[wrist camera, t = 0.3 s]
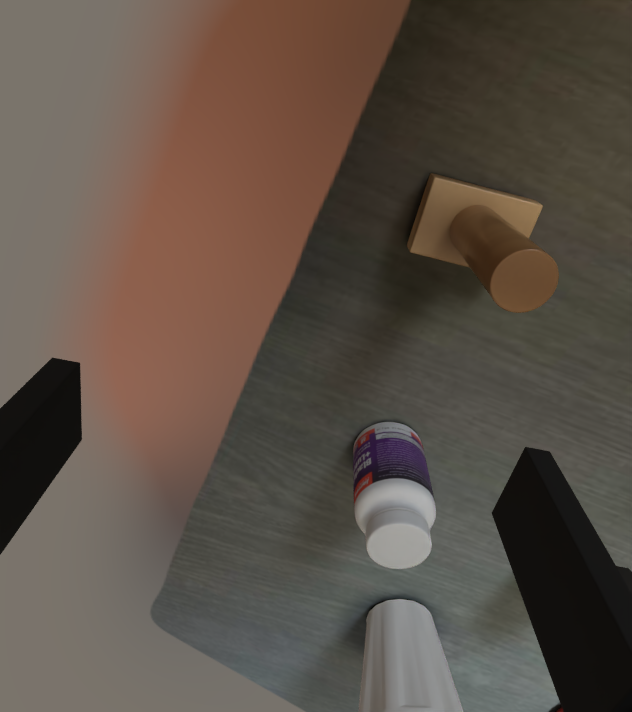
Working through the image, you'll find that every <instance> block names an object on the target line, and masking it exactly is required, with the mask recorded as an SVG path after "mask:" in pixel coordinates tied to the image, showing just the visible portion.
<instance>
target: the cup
mask: <svg viewBox="0 0 632 712" xmlns="http://www.w3.org/2000/svg"><path fill="white" fill-rule="evenodd" d="M366 623H367V626H366V637H365V648H364V658H363V669H362V679H361V690H360V700H359V711H358V712H464V711H463V708H462V705H461V702H460V699H459V696H458V693H457V690H456V687H455V684H454V681H453V678H452V675H451V672H450V669H449V666H448V663H447V660H446V657H445V654H444V651H443V648H442V645H441V642H440V639H439V636H438V633H437V630H436V627H435V624H434V621H433V618H432V615H431V613H430V612H429V611H428V610H427V609H426V607H425V606H423V605H421V604H419V603H417V602H415V601H411V600H405V599H395V600H387V601H385V602H382V603H380V604H377V605H376V606H375V607H374V608H372V609H371V610H370V611H369V613H368V616H367V619H366Z"/></svg>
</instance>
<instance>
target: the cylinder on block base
mask: <svg viewBox="0 0 632 712" xmlns="http://www.w3.org/2000/svg"><path fill="white" fill-rule="evenodd" d="M542 207H543V205H542V204H540V203H538V202H536V201H535V200H532V199H528V198H525V197H521V196H517V195H513V194H509V193H506V192H502V191H498V190H494V189H490V188H487V187H483V186H479V185H475V184H471V183H467V182H464V181H460V180H456V179H452V178H448V177H445V176H441V175H437V174H433V173H431V174H430V175H429V179H428V182H427V185H426V188H425V191H424V194H423V197H422V200H421V203H420V206H419V209H418V212H417V215H416V218H415V221H414V224H413V227H412V230H411V233H410V236H409V240H408V243H407V247H408V249H409V251H410V253H414V254H418V255H422V256H426V257H430V258H434V259H438V260H442V261H446V262H450V263H454V264H458V265H462V266H466V267H470V268H471V269H472V271H473V272H474V274H475V275H476V276H477V278H478V279H479V280H480V282H481V283H482V285H483V286H484V287H485V289H486V290H487V292H488V293H489V294H490V296H491V297H492V299H493V300H494V301H495V303H496V304H497V305H498V306H499V307H501V308H502V309H504V310H507V311H510V312H516V313H521V312H528V311H531V310H534V309H536V308H538V307H540V306H541V305H543V304H544V303H545V302H546V301H547V300H548V299H549V298H550V297H551V296H552V294H553V293H554V291H555V289H556V287H557V284H558V278H559V272H558V267H557V265H556V263H555V261H554V260H553V258H552V257H551V256H550V255H548V254H547V253H546V252H545V251H543V250H542V249H541V248H540V247H538V246H537V245H536V244H535V243H533V242H532V241H531V240H530V239H529V237H530V235H531V232H532V230H533V228H534V225H535V223H536V221H537V219H538V216H539V214H540V212H541V210H542Z"/></svg>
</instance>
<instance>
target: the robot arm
mask: <svg viewBox="0 0 632 712" xmlns="http://www.w3.org/2000/svg"><path fill="white" fill-rule="evenodd" d="M80 385H81V384H80V363H78V362H72V361H67V360H62V359H56V358H52V359H51V360H50V361H48V362H47V364H45V365H44V366H43V367H42V368H41V369H40V370H39V371H38V372H37V373H36V374H35V375H34V376H33V377H32V378H31V379H30V380H29V381H28V382H27V383H26V384H25V385H24V386H23V387H22V388H21V389H20V390H19V391H18V392H17V393H16V394H15V395H14V396H13V397H12V398H11V399H10V400H9V401H8V402H7V403H6V404H4V405H3V407H1V408H0V554H1V553H2V551H3V550H4V549H5V547H6V546H7V545H8V543H9V542H10V540H11V539H12V538H13V536H14V535H15V533H16V532H17V530H18V529H19V528H20V526H21V525H22V523H23V522H24V520H25V519H26V518H27V516H28V515H29V513H30V512H31V511H32V509H33V508H34V506H35V505H36V504H37V502H38V500H39V499H40V498H41V496H42V495H43V494H44V492H45V491H46V489H47V488H48V487H49V485H50V484H51V482H52V481H53V479H54V478H55V477H56V475H57V474H58V473H59V471H60V470H61V468H62V467H63V465H64V464H65V463H66V461H67V460H68V458H69V457H70V456H71V454H72V453H73V451H74V450H75V448H76V447H77V445H78V444H79V443H80V441H81V440H82V431H81V430H82V429H81V386H80ZM492 515H493V518H494V521H495V523H496V526H497V529H498V532H499V534H500V537H501V540H502V543H503V546H504V548H505V551H506V554H507V557H508V559H509V562H510V565H511V568H512V570H513V573H514V576H515V579H516V582H517V584H518V587H519V590H520V593H521V595H522V598H523V601H524V604H525V606H526V609H527V612H528V615H529V618H530V620H531V623H532V626H533V629H534V631H535V634H536V637H537V640H538V642H539V645H540V648H541V651H542V654H543V656H544V659H545V662H546V665H547V667H548V670H549V673H550V676H551V678H552V681H553V684H554V687H555V690H556V692H557V695H558V698H559V701H560V703H561V706H562V709H563V712H632V572H631V571H630V570H629V569H628V568H624V567H618V566H616V565H615V564H614V562H613V560H612V558H611V557H610V555H609V553H608V552H607V550H606V548H605V546H604V545H603V543H602V541H601V539H600V538H599V536H598V534H597V533H596V531H595V529H594V527H593V526H592V524H591V522H590V520H589V519H588V517H587V515H586V513H585V512H584V510H583V508H582V507H581V505H580V503H579V501H578V500H577V498H576V496H575V494H574V493H573V491H572V489H571V488H570V486H569V484H568V482H567V481H566V479H565V477H564V475H563V474H562V472H561V470H560V468H559V467H558V465H557V463H556V462H555V460H554V458H553V456H552V455H551V453H550V452H549V451H544V450H539V449H533V448H528V447H525V449H524V451H523V453H522V454H521V456H520V458H519V460H518V462H517V464H516V466H515V468H514V470H513V472H512V474H511V476H510V478H509V480H508V482H507V484H506V486H505V488H504V490H503V492H502V494H501V496H500V498H499V500H498V502H497V504H496V506H495V508H494V510H493V512H492Z"/></svg>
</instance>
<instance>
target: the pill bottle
mask: <svg viewBox="0 0 632 712" xmlns="http://www.w3.org/2000/svg"><path fill="white" fill-rule="evenodd" d="M353 478H354V511H355V518H356V522H357V524H358V526H359V528H360V529H361V530H362V532H363V533H364V534H365V535H366V548H367V552H368V554H369V556H370V557H371V558H372V559H373V560H374V561H375V562H376V563H378V564H379V565H381V566H384V567H387V568H392V569H405V568H410V567H413V566H416V565H418V564H420V563H421V562H423V561H424V560H425V559H426V558H427V557H428V555H429V554H430V552H431V547H432V543H431V536H430V529H431V527H432V526H433V524H434V521H435V517H436V507H435V500H434V496H433V491H432V487H431V482H430V478H429V473H428V468H427V464H426V459H425V454H424V450H423V446H422V443H421V440H420V438H419V437H418V435H417V434H416V433H415V432H414V431H413V430H412V429H411V428H409V427H408V426H406V425H403V424H400V423H395V422H382V423H377V424H374V425H372V426H370V427H368V428H366V429H365V430H363V431H362V432H361V433H360V434H359V436H358V437H357V439H356V441H355V443H354V448H353Z"/></svg>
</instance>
